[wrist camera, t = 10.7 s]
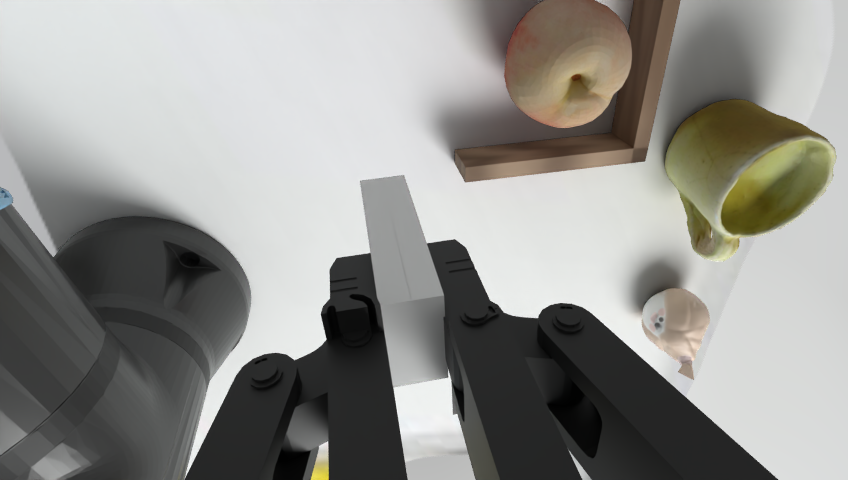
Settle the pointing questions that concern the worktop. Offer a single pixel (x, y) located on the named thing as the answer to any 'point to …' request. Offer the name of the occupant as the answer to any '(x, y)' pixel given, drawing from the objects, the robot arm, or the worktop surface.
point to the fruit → (567, 61)
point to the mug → (744, 173)
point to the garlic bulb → (676, 325)
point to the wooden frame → (630, 121)
